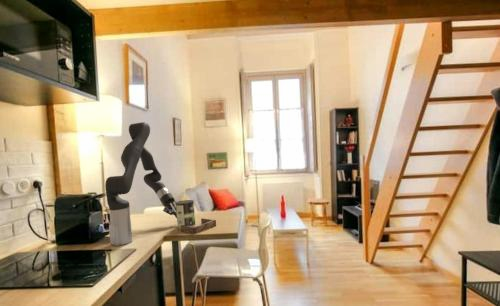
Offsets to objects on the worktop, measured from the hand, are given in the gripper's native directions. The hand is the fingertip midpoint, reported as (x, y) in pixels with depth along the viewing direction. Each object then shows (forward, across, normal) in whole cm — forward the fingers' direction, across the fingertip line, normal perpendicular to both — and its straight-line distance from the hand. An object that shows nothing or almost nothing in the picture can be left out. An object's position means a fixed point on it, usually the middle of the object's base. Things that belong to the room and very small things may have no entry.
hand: (179, 218), depth 165 cm
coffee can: (+7, 0, -1) cm, 7 cm away
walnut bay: (+14, 0, -9) cm, 17 cm away
